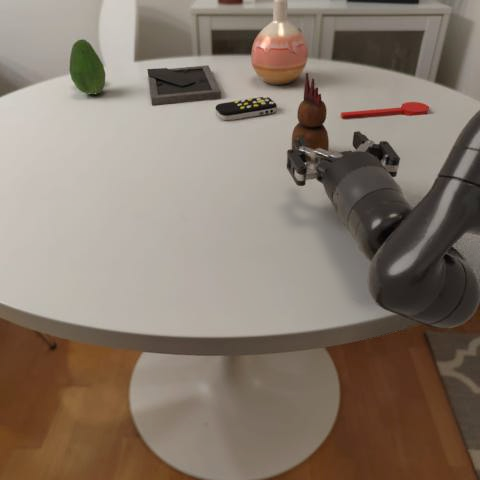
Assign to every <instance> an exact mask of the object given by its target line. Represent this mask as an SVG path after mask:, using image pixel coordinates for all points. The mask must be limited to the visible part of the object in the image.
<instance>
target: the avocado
mask: <svg viewBox="0 0 480 480" xmlns="http://www.w3.org/2000/svg"><path fill="white" fill-rule="evenodd" d="M70 51H71V52H70V58H69V69H68V70H69V74H70V78H71V81H72V82H73V83H74V86H75V87H76V89H78V90H79V91H80V92H82V93H84V94H87V93H90V94H95V93H99V92H100V93H102V91H103V90H104V88H105V86H106V71H105V68H104V67H105V66H104V64H103V62H102V61H101V59H100V57H99V55H98V54H97V53H96V51H95V49H94V47H93V46H92V44H91V43H90V42H89V41H87V40H86V39H84V38H82V39H78V40H76V41H75V42H74V43H73V45H72V47H71V50H70ZM100 93H99V94H100ZM90 94H89V95H90Z"/></svg>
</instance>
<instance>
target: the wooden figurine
mask: <svg viewBox="0 0 480 480" xmlns="http://www.w3.org/2000/svg"><path fill="white" fill-rule="evenodd" d="M327 113H328V111H327V106H326V104H325V102H324V101H323V100H322V94H321V93H319V87H318V86H317V87H315V78H314V77H313V78H311V81H310V76H309V73H308V72H306V73H305V79H304V89H303V100H302V101H300V103H299V105H298V108H297V114H296V115H297V120H298V123H297V124H296V125H295V126H294V128H293V130H292V134H291V149H294V140H297V137H300V136H302V137H303V138H304V140H305V142H306V144H307V145H308V148H311V149H314V150H315V149H317V148H321V149H324V150H327V151H329V148H330V142H329V141H330V139H329V134H328V130H327V129H326V127H325V125H324V123H325V121H326V119H327ZM322 159H323V158H322V157H320V162H321V161H322ZM310 160H311V158H310V156H307V161H310Z"/></svg>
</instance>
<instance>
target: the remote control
mask: <svg viewBox="0 0 480 480" xmlns="http://www.w3.org/2000/svg"><path fill="white" fill-rule="evenodd" d="M277 106H278V105H277V103H276V102H275V101H274V100H273V99H272V98H270V97H268V96H267V95H264V96H259V97H253V98H247V99H241V100H235V101H228V102H222V103H218V104H216V105H215V114H216V115H217V116H218V117H219V118H220V119H221V120H222V121H224V122H225V121H227V122H228V121H233V120H239V119H247V118H251V117H252V118H253V117H258V116H265V115H270V114H274V113H276V111H277Z"/></svg>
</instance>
